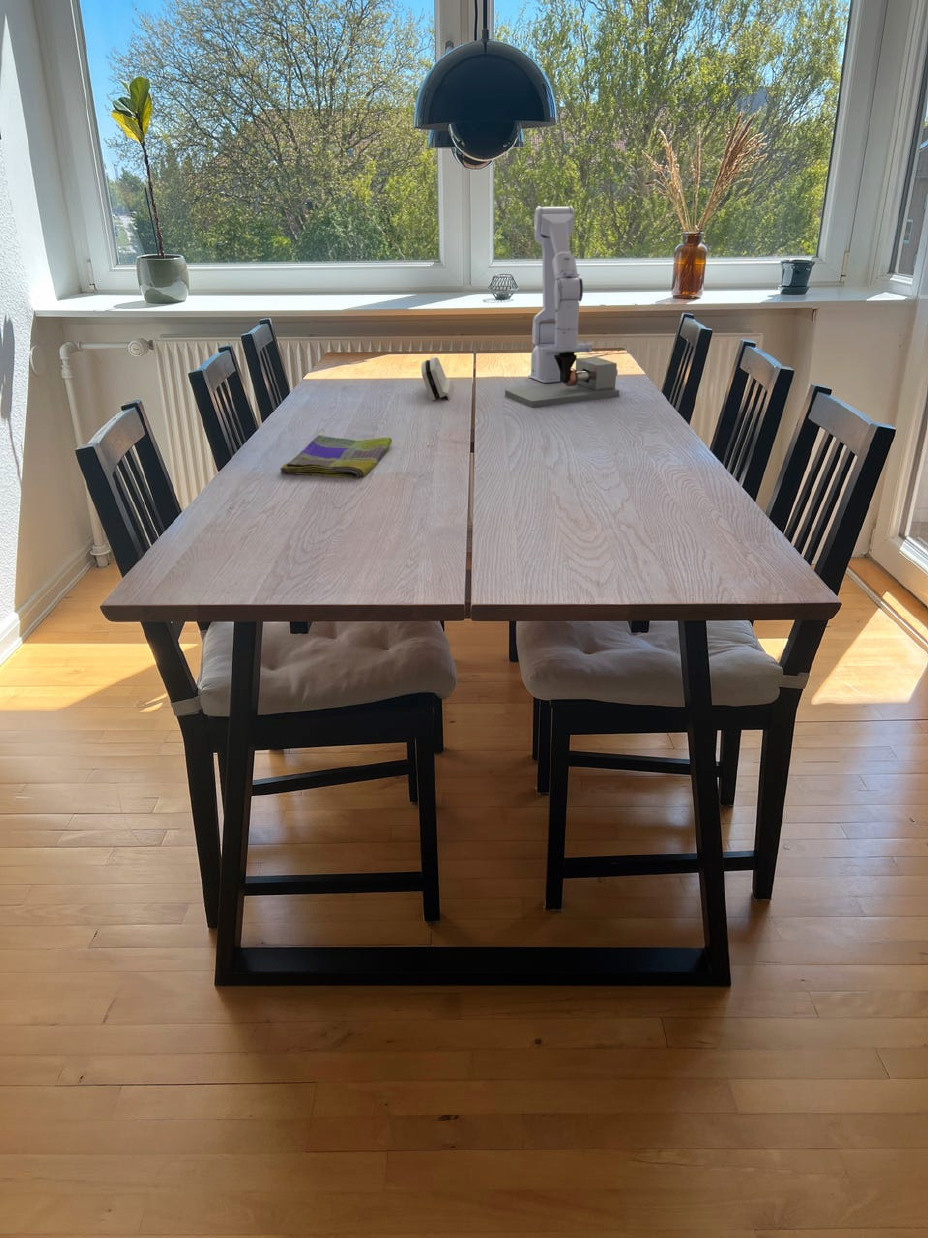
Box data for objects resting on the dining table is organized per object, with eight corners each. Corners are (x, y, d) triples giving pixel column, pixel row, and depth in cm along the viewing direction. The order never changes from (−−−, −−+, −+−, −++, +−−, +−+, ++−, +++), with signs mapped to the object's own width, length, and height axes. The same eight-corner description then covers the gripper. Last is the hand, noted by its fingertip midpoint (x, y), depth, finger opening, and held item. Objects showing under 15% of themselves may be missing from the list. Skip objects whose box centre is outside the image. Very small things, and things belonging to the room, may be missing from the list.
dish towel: (396, 447, 202) (395, 435, 201) (362, 482, 181) (361, 469, 179) (320, 443, 205) (319, 431, 204) (277, 477, 184) (276, 463, 183)
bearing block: (574, 383, 248) (576, 358, 245) (593, 381, 250) (595, 356, 247) (595, 391, 240) (597, 365, 237) (615, 388, 242) (616, 363, 239)
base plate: (504, 395, 242) (505, 389, 241) (589, 385, 252) (589, 379, 252) (531, 407, 231) (531, 401, 230) (619, 395, 241) (619, 390, 240)
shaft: (562, 384, 243) (563, 367, 241) (609, 378, 248) (610, 362, 247) (571, 387, 239) (572, 370, 237) (619, 382, 245) (620, 365, 243)
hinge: (450, 400, 238) (436, 362, 234) (433, 406, 239) (419, 369, 235) (453, 385, 253) (440, 350, 249) (437, 391, 254) (423, 356, 250)
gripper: (549, 332, 228) (547, 388, 234) (599, 328, 234) (596, 382, 240) (535, 328, 234) (534, 382, 240) (584, 323, 239) (581, 377, 245)
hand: (564, 382), depth 240 cm, fingers closed
